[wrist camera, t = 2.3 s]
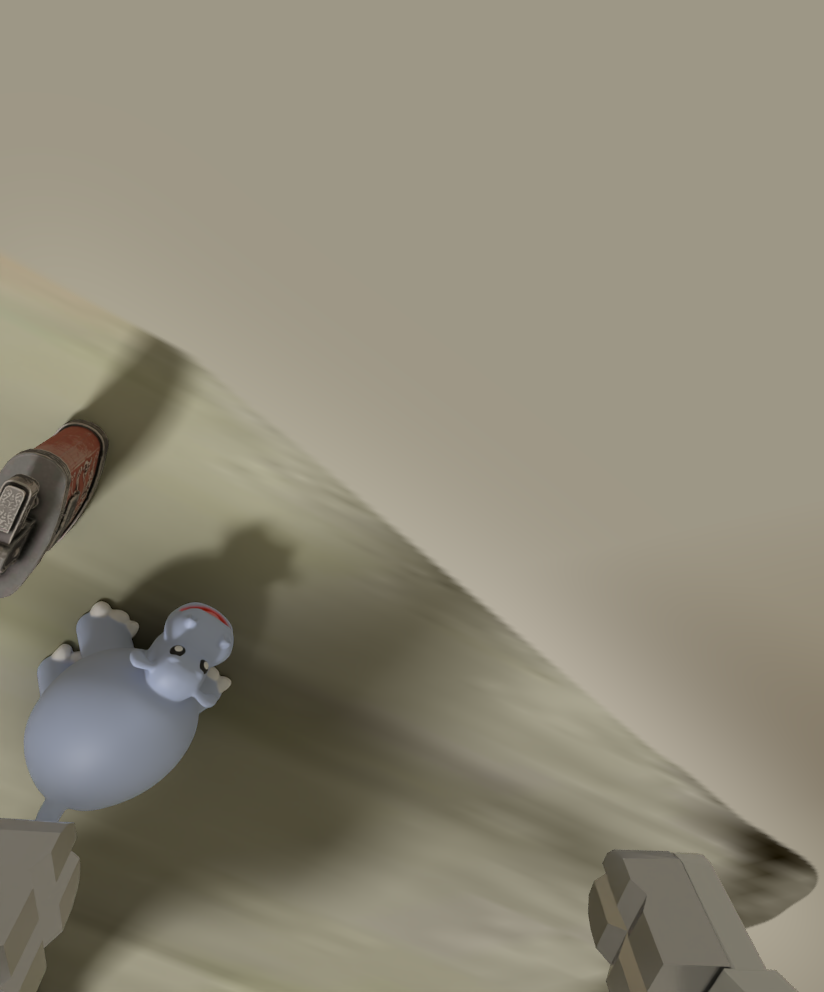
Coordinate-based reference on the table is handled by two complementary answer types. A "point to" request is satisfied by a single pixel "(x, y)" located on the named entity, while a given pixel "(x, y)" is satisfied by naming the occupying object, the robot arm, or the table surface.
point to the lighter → (46, 496)
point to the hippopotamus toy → (122, 706)
